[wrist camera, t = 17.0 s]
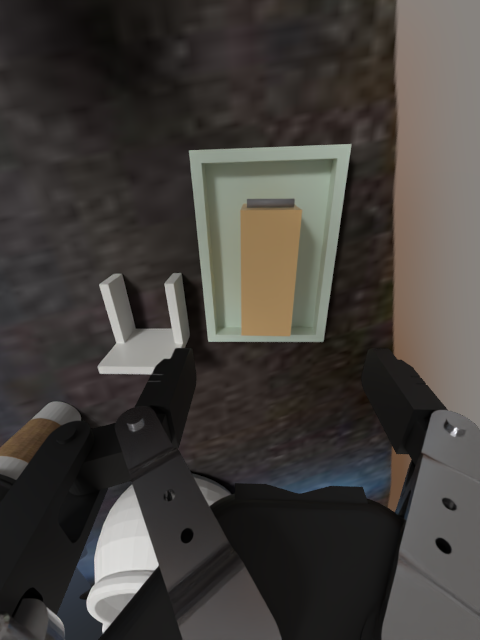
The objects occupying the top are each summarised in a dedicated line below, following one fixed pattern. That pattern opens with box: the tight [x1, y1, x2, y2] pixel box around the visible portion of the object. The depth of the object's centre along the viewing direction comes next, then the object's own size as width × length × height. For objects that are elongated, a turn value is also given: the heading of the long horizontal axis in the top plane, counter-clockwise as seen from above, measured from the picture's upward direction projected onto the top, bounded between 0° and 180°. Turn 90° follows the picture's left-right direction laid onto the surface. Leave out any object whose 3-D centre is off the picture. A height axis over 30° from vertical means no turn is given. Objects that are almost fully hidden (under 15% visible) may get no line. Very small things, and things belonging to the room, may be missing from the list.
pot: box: [87, 474, 231, 633], centre depth 48 cm, size 29×26×17 cm
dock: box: [97, 273, 190, 374], centre depth 30 cm, size 9×8×8 cm
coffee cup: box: [0, 402, 81, 502], centre depth 38 cm, size 8×8×15 cm
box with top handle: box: [240, 198, 302, 336], centre depth 27 cm, size 13×5×6 cm, turn 1°
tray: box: [189, 144, 351, 342], centre depth 29 cm, size 20×14×2 cm
